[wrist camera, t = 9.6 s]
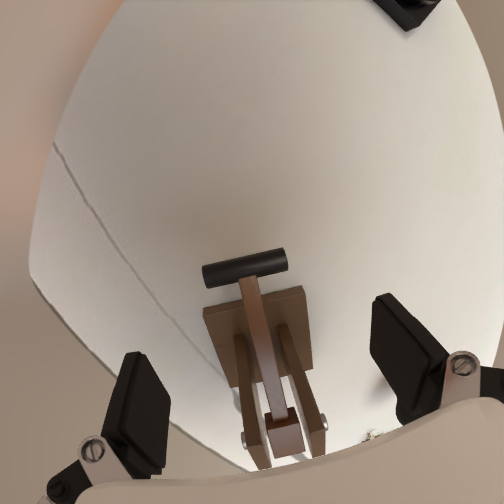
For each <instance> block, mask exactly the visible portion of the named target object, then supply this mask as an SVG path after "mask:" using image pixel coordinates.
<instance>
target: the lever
mask: <svg viewBox="0 0 504 504" xmlns="http://www.w3.org/2000/svg"><path fill="white" fill-rule="evenodd" d="M284 271H288V261H287V257H286V253H285V251H284V249H283V248H278V249H273V250H269V251H265V252H260V253H256V254H252V255H247V256H243V257H239V258H234V259H230V260H226V261H221V262H217V263H212V264H208V265H204V266H202V273H203V278H204V282H205V285H206V287H207V289H210V288H214V287H219V286H223V285H228V284H232V283H237V282H239V285H240V290H241V294H242V298H243V302H244V306H245V311H246V315H247V319H248V323H249V327H250V331H251V335H252V340H253V344H254V348H255V352H256V356H257V360H258V364H259V368H260V372H261V376H262V380H263V384H264V388H265V391H266V395H267V399H268V403H269V407H270V411H271V412H269V413H265V414H264V416H265V423H266V430H267V434H268V438H269V441H270V444H271V448H272V451H273V455H274V458H275V459H276V458H280V457H285V456H289V455H293V454H298V453H302V452H305V446H304V441H303V436H302V432H301V427H300V423H299V420H298V417H297V414H296V411H295V408H294V407H290V408H287V405H286V401H285V397H284V392H283V388H282V384H281V380H280V375H279V371H278V367H277V362H276V358H275V354H274V349H273V345H272V341H271V336H270V332H269V328H268V323H267V319H266V315H265V310H264V306H263V302H262V297H261V293H260V289H259V284H258V280H257V278H258V277H263V276H267V275H271V274H275V273H280V272H284Z"/></svg>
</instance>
